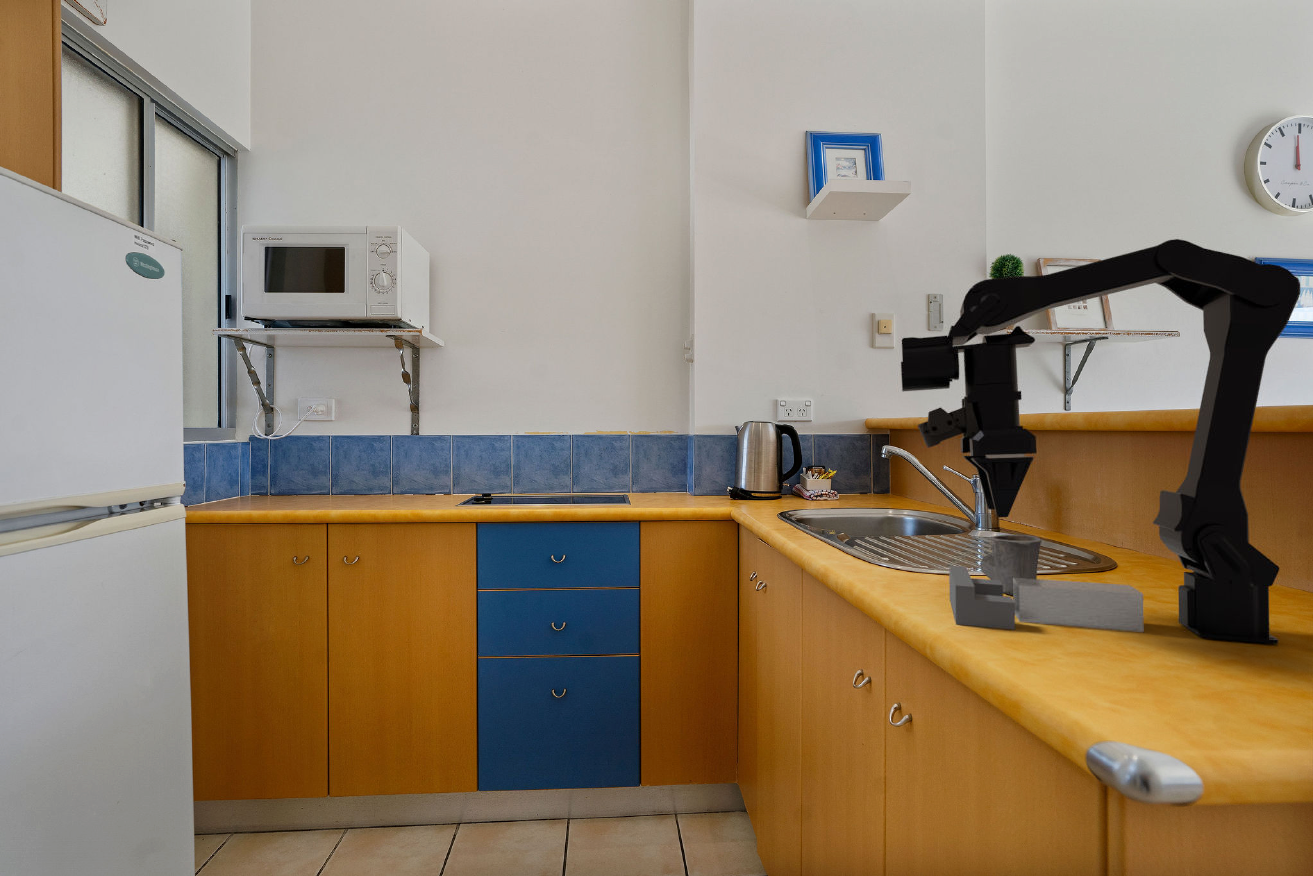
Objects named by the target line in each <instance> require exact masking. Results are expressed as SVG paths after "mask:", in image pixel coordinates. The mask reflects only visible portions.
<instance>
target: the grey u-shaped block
mask: <svg viewBox="0 0 1313 876" xmlns="http://www.w3.org/2000/svg"><path fill="white" fill-rule="evenodd" d="M948 568H949V571H948V572H949V575H948V576H949V602H950V607H951V611H952V615H953V619H954V622H955V625H959V626H970V627H983V628H991V629H1003V630H1015V629H1016V615H1015V603H1014V601H1013V597H1012V596H1007V595H1006V596H1004V593H1003V584H1002V583H1001V581H1000V580H991V579H989V578H988V579H987V578H986V579H985V578H984V579H983V578H972V577H971V575H970V573H969V570H968V568H967V566H959V565H958V566H957V565H949V567H948Z"/></svg>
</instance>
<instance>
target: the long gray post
mask: <svg viewBox="0 0 1313 876" xmlns="http://www.w3.org/2000/svg"><path fill="white" fill-rule="evenodd" d="M1012 600H1013V601H1014V603H1015V618H1017V620H1018V621H1019V622H1020V623H1030V624H1031V623H1032V624H1041V625H1042V624H1043V625H1051V626H1052V625H1054V626H1063V627H1064V626H1067V627H1077V628H1088V629H1089V628H1090V629H1099V630H1100V629H1101V630H1111V631H1113V630H1114V631H1124V632H1133V633H1134V632H1135V633H1137V632H1138V633H1144V593H1143V592H1141V591H1140V590H1138V589H1137V588H1134V586H1132V585H1130V584H1116V583H1102V582H1085V581H1084V582H1083V581H1073V580H1072V581H1069V580H1055V579H1042V578H1041V579H1040V578H1039V579H1038V578H1037V579H1026V578H1013V596H1012Z"/></svg>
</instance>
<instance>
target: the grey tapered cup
mask: <svg viewBox="0 0 1313 876" xmlns="http://www.w3.org/2000/svg"><path fill="white" fill-rule="evenodd" d="M989 542H990V546H991V550H992V552H989V553H987V554H986V555H985V556H983V557H982V559H981V560H980V571H981V572H982V573H983V575H985V577H987V578H988V579H989V580H1000V581H1001V583H1002V584H1003V594H1007V595H1009V596H1011V597H1013V578H1026V579H1038V578H1037V577H1038V566H1039V565H1038V564H1039V558H1040V557H1039V556H1040V551H1041V545H1042V539H1041V538H1040V537H1038V536H1036V535H1025V534H1024V535H1023V534H1001V535H993V536H989Z"/></svg>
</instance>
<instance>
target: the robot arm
mask: <svg viewBox="0 0 1313 876" xmlns="http://www.w3.org/2000/svg"><path fill="white" fill-rule="evenodd" d="M1153 284H1157V285H1159V286H1160V287H1161V286H1162V287H1163V288H1165V289H1166V290H1168V291H1170V292H1171V293H1172V294H1173V295H1174V296H1176V297H1178V298H1179V299H1180V300H1182V301H1183V302H1184V303H1186V304H1188V305H1190V306H1192V307H1194V308H1196V309H1198V310H1201V311H1202V315H1203V333H1204V336H1205V340H1206V343H1207V346H1208V351H1209V361H1208V366H1207V371H1206V376H1205V382H1204V387H1203V391H1202V396H1201V401H1200V407H1199V411H1198V417H1197V421H1196V425H1195V426H1196V427H1195V432H1194V437H1193V440H1192V441H1193V442H1192V447H1191V452H1190V456H1189V462H1188V467H1187V471H1186V476H1185V478H1184V480H1183V481H1182V483H1181V485H1180V486H1179V487H1178V489H1177V490H1176V492H1175V491H1174V492H1173V491H1169V490H1164V489H1163V490H1160V493H1159V510H1158V514H1157V516H1156V517H1155V519H1154V520H1153V521H1152V524H1153V525H1156V526H1159V527H1158V529H1159V530H1158V535H1159V538H1160V541H1161V542H1162V543H1163V544H1164V546H1165V547H1166V548H1167V549H1168V550H1169V551H1171V552H1173V554H1176V555H1177V557H1178V560H1179V561H1180V564H1181V565H1182V567H1183V569H1186V570H1189V571H1184V572H1183V584H1180V585H1178V588H1177V590H1178V591H1177V592H1178V619H1177V620H1178V623H1179V624H1181V626H1184V627H1185V628H1187V629H1188V630H1189V631H1191V633H1194V634H1195V635H1196V636H1198V637H1201V638H1204V639H1205V638H1207V639H1215V640H1216V639H1217V640H1227V641H1239V642H1248V643H1249V642H1252V643H1263V644H1275V645H1278V644H1279V639H1278V638H1277V637H1275V636H1273V635H1271V634H1270V593H1269V592H1270V588H1269V587H1272V586H1274V582H1275V580H1276V578H1277V576H1278V574H1279V571H1280V566H1279V565H1277V564H1276V563H1275V562H1273V560H1271V559H1270V558H1269V557H1267V556H1266V555H1265V554H1263V553H1262V552H1261V551H1260V550H1258V549H1257V548H1256V547H1254V546H1253V545H1252V544H1251V543H1250V537H1249V535H1250V534H1249V533H1250V532H1249V512H1248V509H1247V505H1246V503H1245V502H1246V501H1245V498H1244V496H1243V492H1242V487H1241V485H1242V483H1241V482H1242V478H1243V477H1242V475H1243V472H1244V467H1245V463H1246V462H1245V461H1246V457H1247V452H1248V446H1249V441H1250V438H1251V432H1252V428H1253V423H1254V417H1255V412H1256V408H1257V404H1258V403H1257V402H1258V398H1259V393H1260V389H1261V388H1260V387H1261V382H1262V379H1263V378H1262V377H1263V373H1264V370H1265V369H1264V368H1265V364H1266V358H1267V355H1268V353H1269V352H1270V350H1271V348H1273V345H1274V344H1275V342H1276V341H1277V340H1278V338H1279V336H1280V335H1281V334H1282V333H1283V331H1284V330H1285V328H1286V327H1287V325H1288V323H1289V321H1290V319H1291V316H1292V314H1293V312H1294V309H1295V307H1296V305H1297V303H1298V301H1299V298H1300V295H1301V282H1300V280H1299V277H1297V276H1295V275H1294V274H1293V273H1292V272H1291V271H1290V270H1289V269H1287V268H1285V267H1282V266H1281V265H1276V264H1271V263H1264V264H1263V263H1262V264H1260V263H1258V262H1255V261H1253V260H1251V259H1249V258H1247V257H1243V256H1239V255H1236V254H1232V253H1228V252H1227V253H1226V252H1223V251H1217V250H1213V249H1209V248H1204V247H1202V246H1200V245H1197V244H1195V243H1192V242H1191V241H1188V240H1184V239H1179V238H1175V239H1169V240H1166V241H1164V242H1162V243H1160V244H1157V245H1155V246H1150V247H1145V248H1143V249H1139V250H1136V251H1132V252H1127V253H1124V254H1120V255H1117V256H1112V257H1109V258H1104V259H1101V260H1097V261H1093V262H1090V263H1086V264H1083V265H1079V266H1074V267H1071V268H1067V269H1064V270H1059V271H1056V272H1053V273H1049V274H1043V275H1034V276H1033V275H1026V276H1025V275H1013V276H1005V277H1004V276H1003V277H997V278H987V279H983V280H980V281H979V282H977V283H975V284H974V285H972V286H971V287H970V288H969V290H968V291H967V293H966V294H965V296H964V299H963V301H962V303H961V307H960V310H959V313H960V315H959V316H960V317H959V318H958V319H957V321H956V323H955V324H954V325H950V328H949V332H948V334H947V335H937V336H928V337H913V336H912V337H903V338H902V339H901V351H902V352H901V354H902V361H900V373H901V391H902V392H914V391H915V392H917V391H928V390H929V391H930V390H932V391H933V390H944V389H945V390H946V389H947V390H948V389H950V387H951V383H952V382H953V381H959V380H960V379H959V378H960V359H959V357H960V355H959V353H961V354H962V353H963V368H964V385H965V387H964V389H965V393H964V394H965V395H964V397H963V398H961V408H958V409H956V410H952V411H950V412H947V411H946V410H945V409H944V408H942V407H937V408H935V409H932V410H930V411H929V412H928V414H927V415H928V416H927V421H924V422H921V423H919V424H917V428H918V430H919V433H920V435H921V437H922V438H923V441H924V443H925V445H926V448H932V447H935V446H937V445H940V443H941V442H943V441H946V440H948V439H952V438H955V437H956V436H959V435H962V437H961V438H960V453H961V454H968V453H969V455H963V456H962V457H963V458H964V460H965V461H967V462H968V463H969V464H970V465H972V466H973V467H974V468H975V469H976V472H977V475H978V478H979V482H980V486H981V489H982V492H983V496H984V500H985V504H986V506H987V509H988V510H994V511H995V515H996V516H997V517H998V518H1008V517H1009V516H1010V513H1011V511H1012V507H1013V506H1014V504H1015V501H1016V498H1017V496H1018V494H1019V492H1020V489H1021V487H1022V484H1023V483H1024V480H1025V478H1026V476H1027V473H1028V471H1029V469H1030V466H1031V465H1032V463H1033V462H1034V458H1035V457H1034V456H1029V454H1031V455H1032V454H1037V438H1036V437H1037V436H1036V435H1035V434H1034V433H1032V432H1031V431H1029V430H1028V429H1027V428H1024V426H1023V425H1021V423H1020V422H1021V421H1020V405H1019V404H1020V403H1019V401H1021V400H1022V399H1023V398H1022V390H1019V385H1018V383H1019V382H1018V365H1017V364H1018V363H1017V362H1018V361H1017V349H1021V348H1028V347H1030V346H1031V345H1032V344H1033V343H1035V341H1036V338H1035V337H1034V336H1031V335H1030V334H1028V333H1027V332H1025V331H1024V330H1023V329H1022V328H1021V326H1020V325H1016V326H1015V327H1014V328H1013V329H1012V330H1011V332H1010V333H1001V334H993V333H996V332H999V331H1001V330H1003V329H1005V328H1008V327H1011V326H1013V325H1015V324H1018V323H1020V322H1022V321H1025V320H1027V319H1029V318H1031V317H1033V316H1035V315H1037V314H1040V313H1042V312H1044V311H1047V310H1051V309H1055V308H1058V307H1062V306H1063V307H1064V306H1067V305H1071V304H1075V303H1079V302H1083V301H1087V300H1091V299H1095V298H1100V297H1103V296H1107V295H1112V294H1116V293H1119V292H1123V291H1127V290H1131V289H1136V288H1140V287H1144V286H1149V285H1153ZM990 334H992V335H990ZM978 335H983V336H982V342H980V343H972V344H967V343H968V342H969V341H971V340H972V339H974V338H976V337H977V336H978ZM1027 454H1028V456H1026V455H1027Z"/></svg>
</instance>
